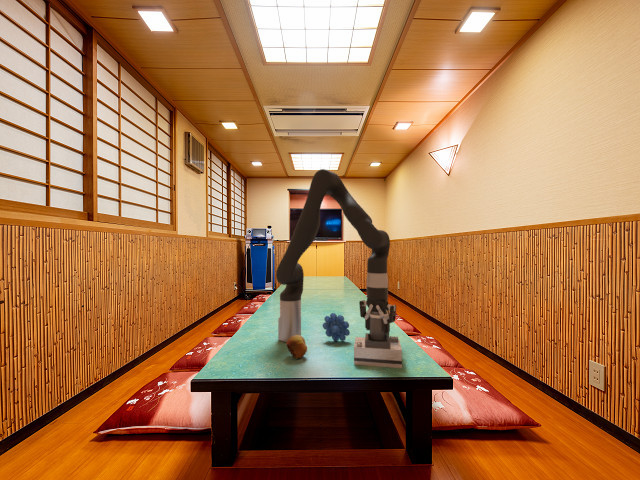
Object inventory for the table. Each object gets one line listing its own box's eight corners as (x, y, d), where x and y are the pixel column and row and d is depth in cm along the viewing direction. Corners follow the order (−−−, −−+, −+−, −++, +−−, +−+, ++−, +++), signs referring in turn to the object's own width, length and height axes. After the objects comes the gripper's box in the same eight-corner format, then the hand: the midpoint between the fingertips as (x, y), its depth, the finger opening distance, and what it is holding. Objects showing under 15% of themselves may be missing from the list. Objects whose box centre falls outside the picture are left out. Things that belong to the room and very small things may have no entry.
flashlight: (380, 346, 100) (380, 314, 100) (367, 343, 103) (366, 311, 103) (387, 342, 104) (387, 311, 104) (374, 339, 107) (374, 309, 107)
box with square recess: (353, 364, 100) (353, 341, 100) (355, 352, 110) (355, 331, 110) (401, 368, 97) (401, 344, 97) (399, 355, 107) (399, 334, 108)
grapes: (321, 344, 120) (321, 315, 120) (323, 338, 126) (323, 311, 126) (349, 345, 118) (349, 315, 119) (349, 339, 125) (349, 312, 125)
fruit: (300, 363, 101) (300, 340, 101) (281, 358, 105) (281, 336, 105) (311, 356, 107) (311, 334, 107) (293, 351, 111) (293, 331, 111)
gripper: (354, 284, 106) (354, 330, 105) (390, 288, 96) (390, 338, 96) (365, 282, 111) (365, 325, 111) (400, 286, 102) (400, 333, 102)
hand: (377, 331), depth 104 cm, fingers open, 6 cm apart
